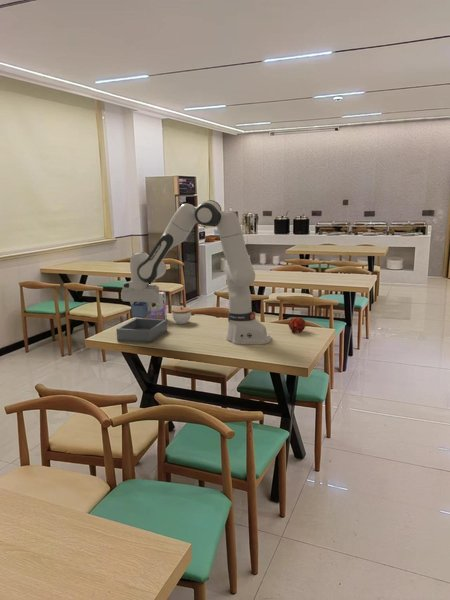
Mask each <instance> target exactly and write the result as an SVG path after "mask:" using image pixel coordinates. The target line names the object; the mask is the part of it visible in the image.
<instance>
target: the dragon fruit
mask: <svg viewBox="0 0 450 600" xmlns="http://www.w3.org/2000/svg"><path fill="white" fill-rule="evenodd" d="M305 324H306V320H305V319H303V318H302V317H298V316H295V317H293V318H290V320H289V322H288V327H289V329H290V330H291V333H293V334H295V333H302V332H303V331H304V330H305V328H306V327H307V326H306V325H305Z"/></svg>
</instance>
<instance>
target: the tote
mask: <svg viewBox="0 0 450 600" xmlns="http://www.w3.org/2000/svg"><path fill="white" fill-rule="evenodd" d="M130 307H131V318H143V317H145V316H147V315H149V314H151V306H150V311H146V307H148V304H147V303H145V302H135V303H134V305H132V306H131V305H130Z"/></svg>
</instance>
